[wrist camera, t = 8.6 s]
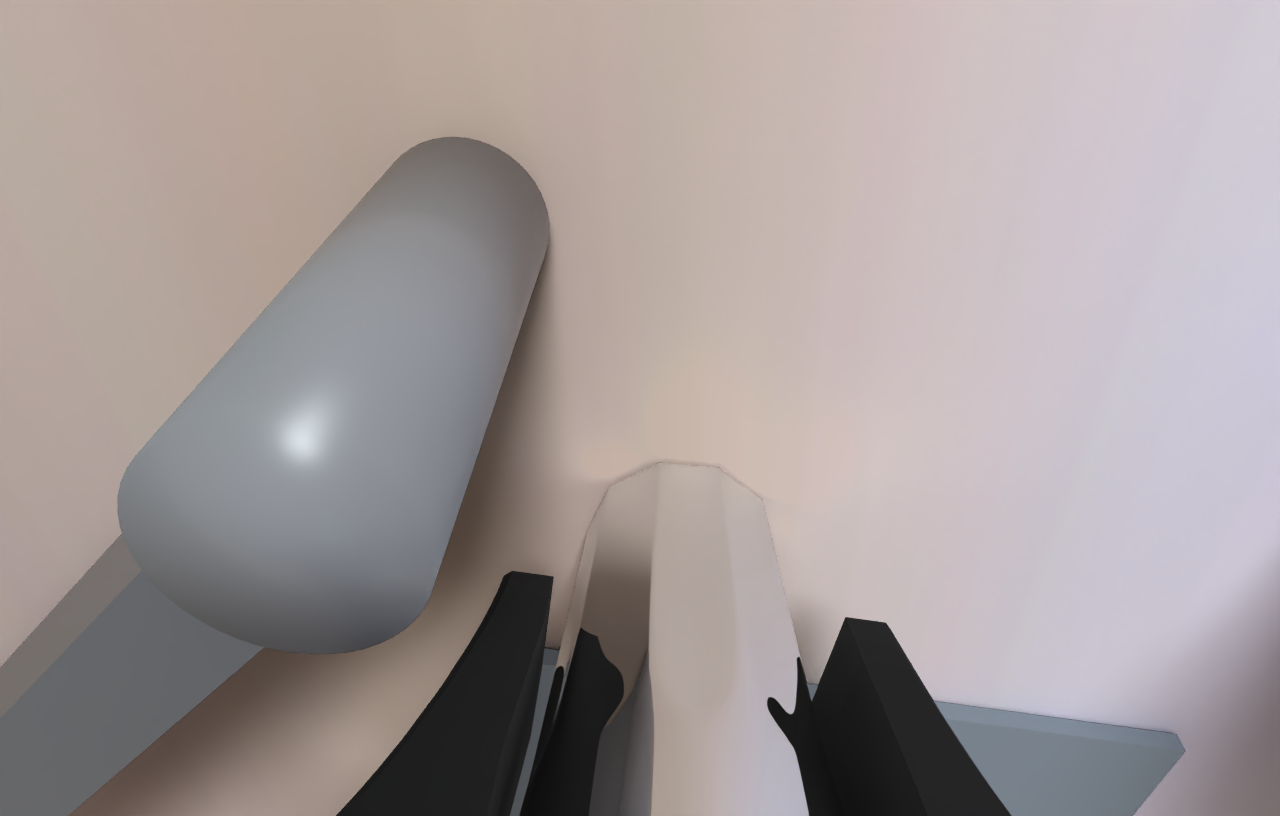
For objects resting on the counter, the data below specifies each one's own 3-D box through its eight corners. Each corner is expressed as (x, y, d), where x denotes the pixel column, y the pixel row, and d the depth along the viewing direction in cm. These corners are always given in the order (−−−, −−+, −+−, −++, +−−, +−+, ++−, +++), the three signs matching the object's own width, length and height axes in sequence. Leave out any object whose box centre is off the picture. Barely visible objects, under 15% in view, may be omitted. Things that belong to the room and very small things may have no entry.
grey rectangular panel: (585, 225, 12) (498, 557, 7) (7, 780, 20) (-244, 1132, 15) (449, 98, 11) (219, 356, 6) (-97, 732, 19) (-405, 1086, 14)
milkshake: (880, 443, 14) (1157, 1284, 6) (740, 644, 17) (799, 1405, 9) (625, 351, 14) (542, 1176, 5) (521, 577, 16) (362, 1347, 8)
